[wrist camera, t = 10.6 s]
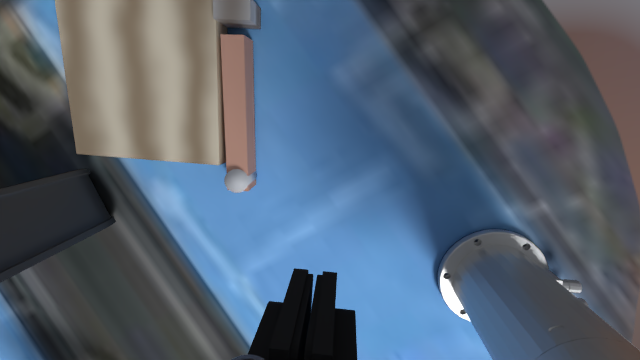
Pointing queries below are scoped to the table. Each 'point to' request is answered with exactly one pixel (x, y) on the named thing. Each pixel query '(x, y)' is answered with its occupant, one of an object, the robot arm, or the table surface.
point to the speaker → (47, 218)
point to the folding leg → (238, 111)
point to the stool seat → (149, 75)
